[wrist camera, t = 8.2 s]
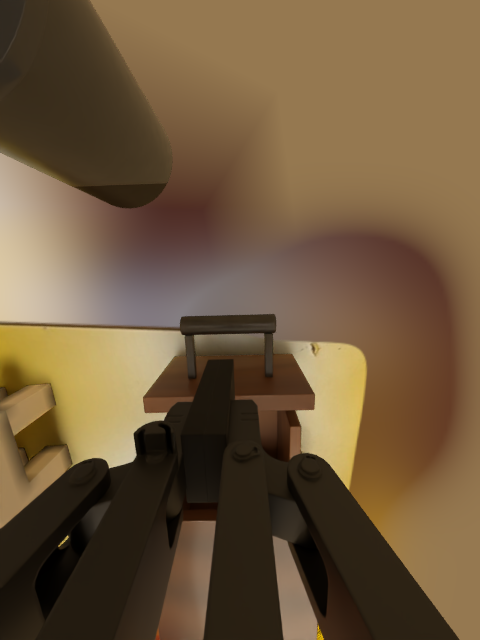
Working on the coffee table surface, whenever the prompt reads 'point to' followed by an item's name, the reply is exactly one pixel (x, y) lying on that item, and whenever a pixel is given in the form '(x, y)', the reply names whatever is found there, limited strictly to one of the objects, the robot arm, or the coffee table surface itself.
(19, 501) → the toy llama
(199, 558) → the cabinet
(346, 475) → the coffee table surface
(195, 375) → the drawer
